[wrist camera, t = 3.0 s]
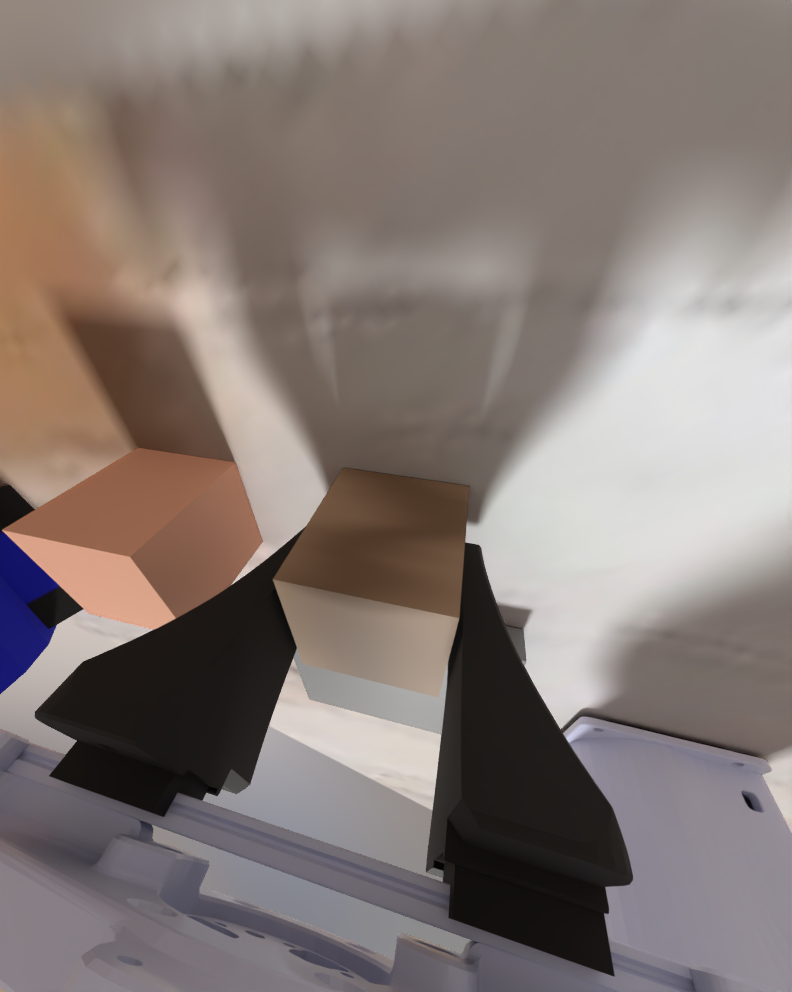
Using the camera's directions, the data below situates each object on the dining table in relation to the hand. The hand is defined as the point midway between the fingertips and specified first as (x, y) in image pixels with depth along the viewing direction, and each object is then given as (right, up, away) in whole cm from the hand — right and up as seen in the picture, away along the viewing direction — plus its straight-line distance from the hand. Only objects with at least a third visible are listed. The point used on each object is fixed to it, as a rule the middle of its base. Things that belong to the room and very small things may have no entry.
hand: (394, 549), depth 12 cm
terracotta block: (-8, +2, +3) cm, 9 cm away
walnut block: (0, +1, +1) cm, 1 cm away
